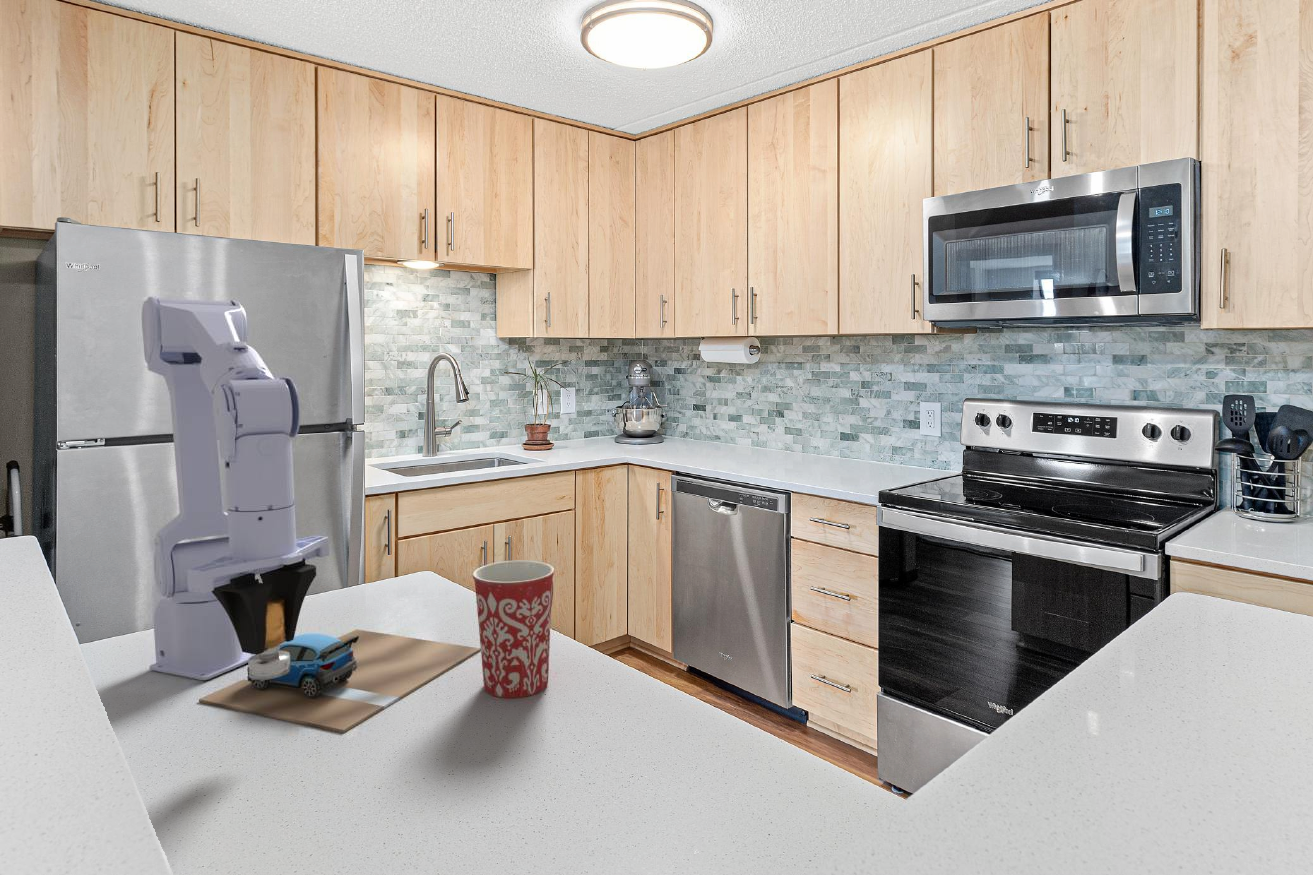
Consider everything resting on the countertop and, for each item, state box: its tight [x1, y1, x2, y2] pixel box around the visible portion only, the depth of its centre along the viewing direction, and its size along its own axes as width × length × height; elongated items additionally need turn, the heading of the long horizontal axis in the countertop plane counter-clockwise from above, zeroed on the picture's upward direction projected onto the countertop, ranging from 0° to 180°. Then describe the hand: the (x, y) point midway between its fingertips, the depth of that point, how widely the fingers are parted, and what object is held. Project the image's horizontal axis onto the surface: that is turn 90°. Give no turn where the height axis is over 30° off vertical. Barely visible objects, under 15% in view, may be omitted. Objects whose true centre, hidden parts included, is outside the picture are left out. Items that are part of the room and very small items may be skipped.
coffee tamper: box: [247, 597, 290, 680], centre depth 76 cm, size 4×4×7 cm
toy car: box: [246, 633, 359, 698], centre depth 89 cm, size 6×12×6 cm, turn 73°
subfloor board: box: [198, 629, 481, 734], centre depth 93 cm, size 20×24×1 cm
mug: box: [472, 560, 556, 699], centre depth 91 cm, size 13×9×14 cm
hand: (268, 645), depth 76 cm, fingers closed on coffee tamper, 3 cm apart
